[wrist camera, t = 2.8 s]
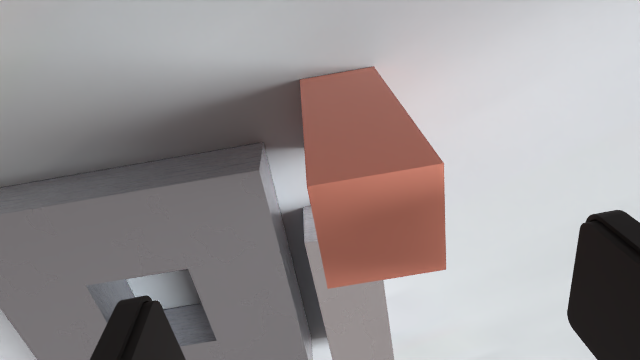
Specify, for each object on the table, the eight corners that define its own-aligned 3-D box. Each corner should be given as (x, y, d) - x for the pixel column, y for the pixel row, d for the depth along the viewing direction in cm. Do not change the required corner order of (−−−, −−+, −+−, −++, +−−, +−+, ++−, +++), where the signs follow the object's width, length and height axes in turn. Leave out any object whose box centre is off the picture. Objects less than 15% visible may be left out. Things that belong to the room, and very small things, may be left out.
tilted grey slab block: (303, 204, 23) (304, 243, 20) (365, 193, 23) (376, 230, 20) (332, 333, 27) (337, 379, 24) (384, 324, 27) (395, 370, 24)
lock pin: (299, 79, 19) (307, 186, 10) (373, 66, 19) (443, 163, 10) (312, 146, 21) (327, 289, 12) (380, 135, 21) (446, 269, 12)
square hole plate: (-16, 190, 21) (-60, 224, 18) (263, 142, 21) (259, 170, 18) (100, 373, 28) (79, 418, 25) (311, 339, 27) (313, 381, 25)
